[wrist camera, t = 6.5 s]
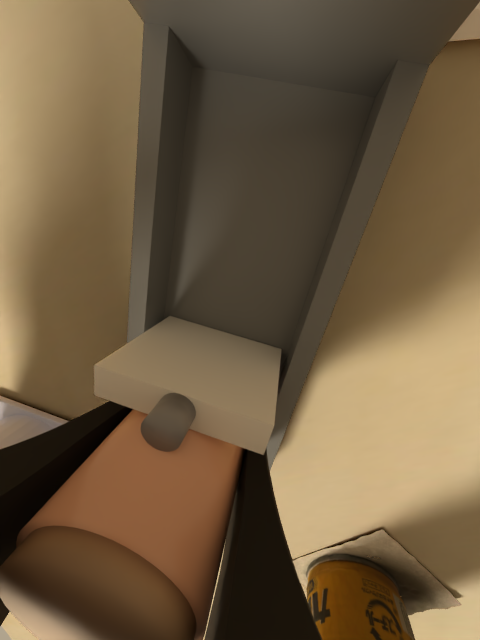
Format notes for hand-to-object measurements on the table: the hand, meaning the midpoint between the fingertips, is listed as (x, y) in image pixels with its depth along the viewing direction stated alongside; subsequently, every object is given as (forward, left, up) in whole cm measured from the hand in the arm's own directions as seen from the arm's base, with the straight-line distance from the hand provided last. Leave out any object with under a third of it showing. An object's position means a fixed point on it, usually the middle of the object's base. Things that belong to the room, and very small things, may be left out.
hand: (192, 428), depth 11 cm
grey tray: (+5, 0, -3) cm, 6 cm away
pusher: (+3, 0, -3) cm, 4 cm away
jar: (0, 0, -3) cm, 3 cm away
